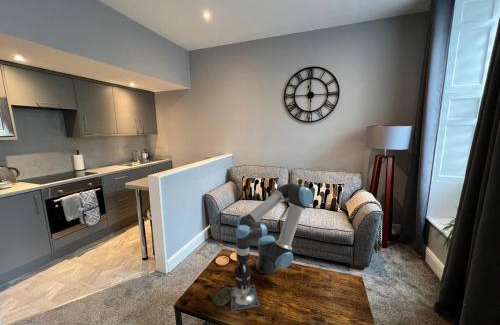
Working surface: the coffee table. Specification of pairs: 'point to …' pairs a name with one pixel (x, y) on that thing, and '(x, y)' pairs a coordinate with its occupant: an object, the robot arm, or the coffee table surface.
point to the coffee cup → (239, 279)
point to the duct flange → (243, 299)
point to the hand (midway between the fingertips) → (243, 287)
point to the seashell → (222, 297)
